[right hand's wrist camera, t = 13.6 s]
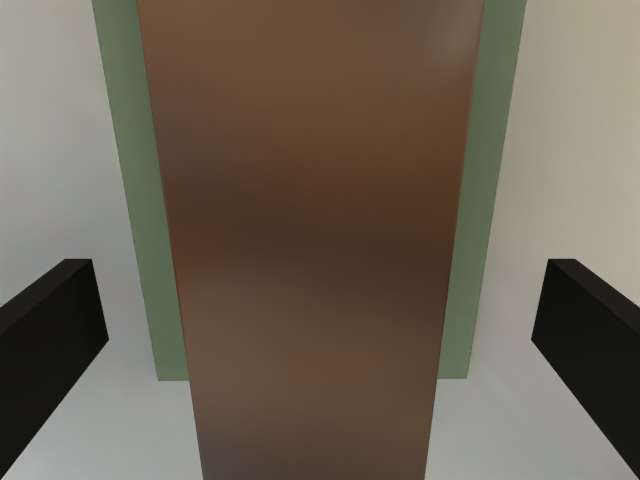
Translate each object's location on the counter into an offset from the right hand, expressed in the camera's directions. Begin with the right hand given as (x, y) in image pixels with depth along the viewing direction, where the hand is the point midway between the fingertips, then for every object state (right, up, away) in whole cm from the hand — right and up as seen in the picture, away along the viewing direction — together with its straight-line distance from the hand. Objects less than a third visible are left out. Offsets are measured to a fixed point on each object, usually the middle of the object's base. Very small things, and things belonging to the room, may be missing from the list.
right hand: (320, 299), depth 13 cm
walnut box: (0, +12, 0) cm, 12 cm away
